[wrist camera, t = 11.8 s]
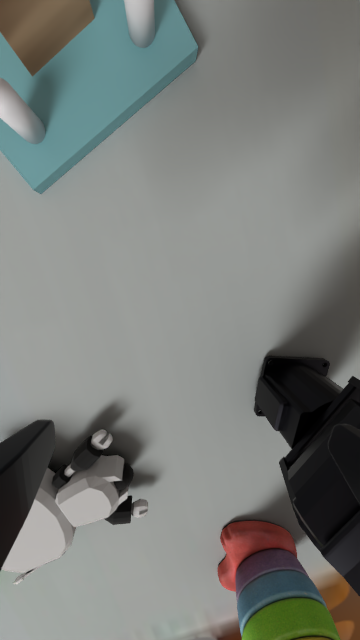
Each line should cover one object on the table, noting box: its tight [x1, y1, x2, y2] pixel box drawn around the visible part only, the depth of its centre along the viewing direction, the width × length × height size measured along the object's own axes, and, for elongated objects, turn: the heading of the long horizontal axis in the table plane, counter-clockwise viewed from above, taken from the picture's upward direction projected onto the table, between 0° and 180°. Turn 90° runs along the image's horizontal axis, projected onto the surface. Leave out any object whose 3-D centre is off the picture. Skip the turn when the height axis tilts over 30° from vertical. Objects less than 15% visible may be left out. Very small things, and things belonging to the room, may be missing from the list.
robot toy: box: [2, 429, 148, 584], centre depth 21 cm, size 12×4×15 cm
